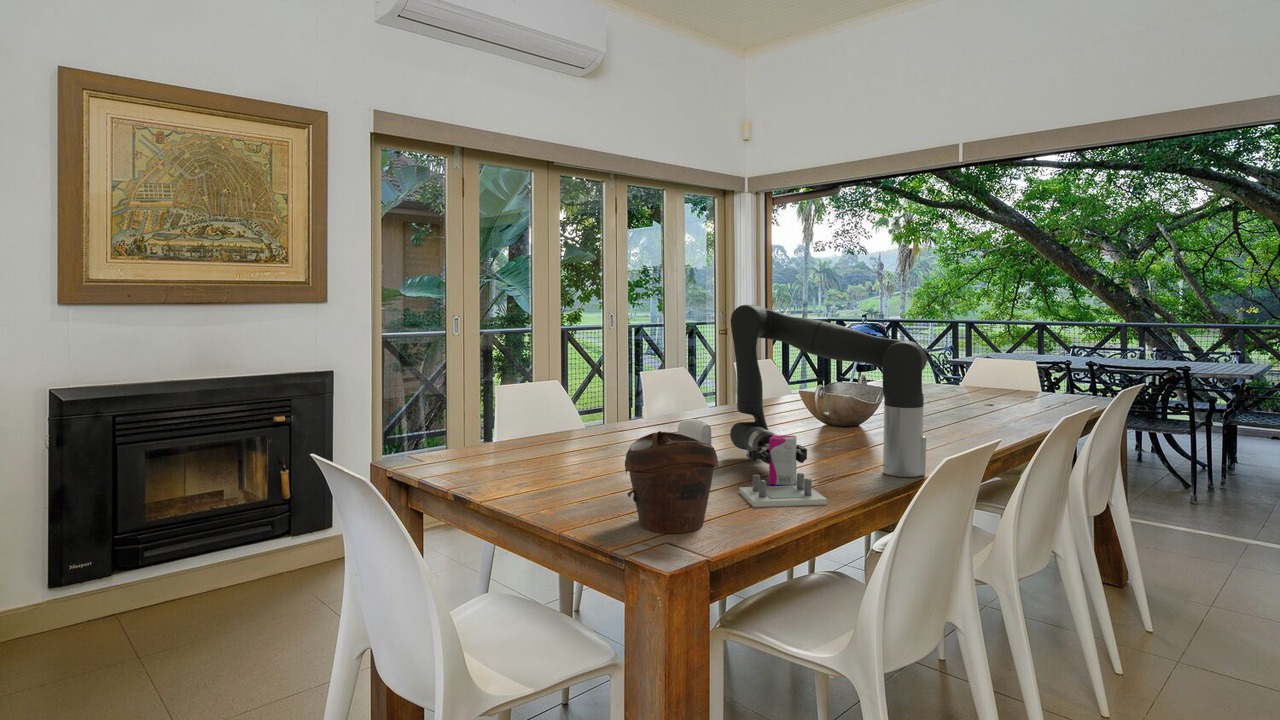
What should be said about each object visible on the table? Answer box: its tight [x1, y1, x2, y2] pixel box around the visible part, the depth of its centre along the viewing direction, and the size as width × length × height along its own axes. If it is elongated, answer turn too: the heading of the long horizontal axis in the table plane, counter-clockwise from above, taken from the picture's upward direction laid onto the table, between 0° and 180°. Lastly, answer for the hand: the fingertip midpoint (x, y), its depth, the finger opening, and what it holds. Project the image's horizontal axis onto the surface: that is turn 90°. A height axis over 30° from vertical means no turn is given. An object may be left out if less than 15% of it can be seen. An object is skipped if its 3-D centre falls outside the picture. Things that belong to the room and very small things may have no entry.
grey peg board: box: [739, 472, 828, 508], centre depth 159 cm, size 16×12×5 cm
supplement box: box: [768, 434, 797, 486], centre depth 171 cm, size 6×6×12 cm
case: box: [624, 430, 720, 534], centre depth 141 cm, size 18×20×18 cm
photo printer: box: [677, 418, 712, 446], centre depth 192 cm, size 10×4×12 cm, turn 39°
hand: (785, 459), depth 169 cm, fingers closed on supplement box, 7 cm apart
